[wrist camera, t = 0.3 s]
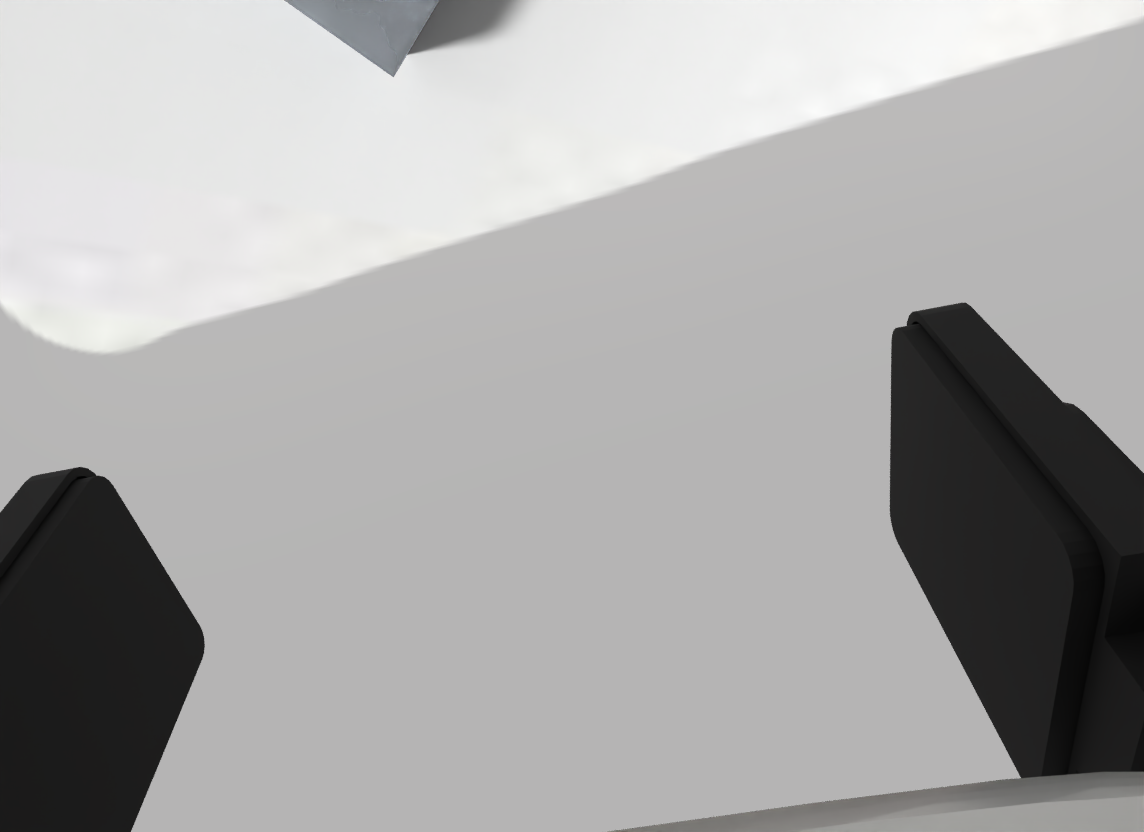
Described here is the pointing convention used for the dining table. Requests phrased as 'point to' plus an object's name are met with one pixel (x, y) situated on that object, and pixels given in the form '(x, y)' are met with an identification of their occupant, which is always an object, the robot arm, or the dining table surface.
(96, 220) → the dining table surface
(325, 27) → the port block
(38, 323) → the dining table surface
